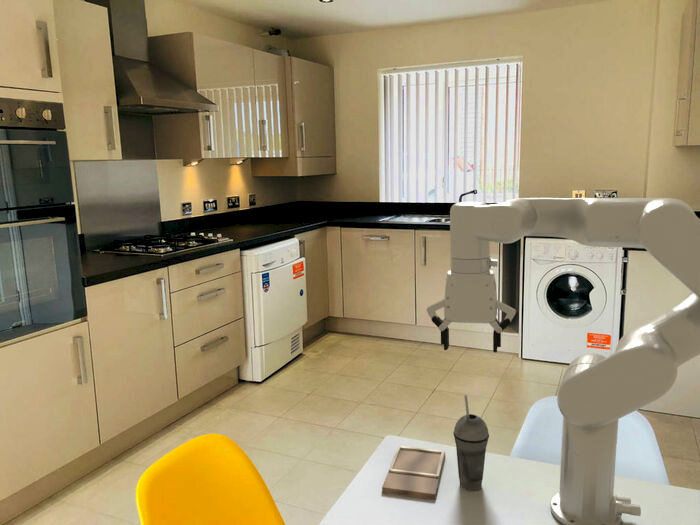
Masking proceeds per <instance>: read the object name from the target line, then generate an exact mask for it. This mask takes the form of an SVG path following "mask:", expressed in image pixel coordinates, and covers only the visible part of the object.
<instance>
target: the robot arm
mask: <svg viewBox="0 0 700 525" xmlns="http://www.w3.org/2000/svg"><path fill="white" fill-rule="evenodd" d="M449 219H450V220H449V222H450V223H449V231H450V232H449V233H450V234H449V235H450V236H449V237H450V238H449V239H450V242H449V243H450V270H448V271H447V273H446V279H445V287H444V298H443V299H442V300H439V301H437V302H435V303H432V304H431V305H428V306H427V308H426V312H427V314H428V316H429V317H430V319H431V322H432V323H433V324H434V325H435V326H436V327H437V328H438V329H439V331H440V345H442V346H443V350H444V351H448V350H449V346H450V328H449V326H450V324H451V323H457V324H458V323H460V324H489V325H490V326H491V327H492V329H493V332H492V334H493V335H492V339H493V340H492V342H493V343H492V351H493V353H496V354H497V353H498V348H501V347H502V346H501V345H502V332H503V331H504V330H505V329H506V328H507V327H508V326H510V324H511V322H512V320H513V319H514V317H515V315H516V314H517V312H516V308H513V307H511V306H510V305H508V304H506V303H503V302H502V301H499V300H498V296H497V282H496V277H495V272H494V271H493V270H492V268H495V267H498V259H493V258H492V257H491V242H493V243H499V244H513V243H515V242H517V241H519V240H520V239H522V238H524V237H550V238H551V237H553V238H563V239H567V240H571V241H573V242H576V243H578V244H580V245H583V246H586V247H594V248H595V247H597V248H599V247H600V248H635V249H645V250H646V251H647V253H649V254H650V255H651V256H652V257H653V258H654V259H655V260H656V261H657V262H658V263H659V264H660V265H661V266H662V267H664V268H665V270H667V271H668V272H669V273H670V274H672V276H674V277H675V278H676V279H678V281H680V282H681V284H683V285H684V286H685V287H686V288H688V289H689V291H691V292H690V294H689V295H688V296H686V298H684V299H683V300H682V301H681V302H679V303H678V304H676V305H675V306H673V307H672V308H670V309H668V310H667V311H665V312H664V313H662V314H660V315H658V316H656V317H654V318H653V319H651V320H649V321H647V322H646V323H643V324H641V325H640V326H638V327H636V328H634V329H632V330H630V331H628V332H626V333H625V334H623V335H622V337H621V338H620V339H619V340H618V341H617V345H616V347H615V351H614V353H612V354H610V355H609V356H607V357H606V356H604V355H601V354H598V353H592V352H591V353H584V354H581V355H579V356H576V357H575V358H574V359H573V360H572V361H571V363H569V365H568V366H567V368H566V370H565V371H564V372H565V373H564V374H563V377H562V379H561V382H560V384H559V386H558V391H557V393H556V394H557V395H556V402H557V407H558V410H559V412H560V414H561V415H562V428H561V429H562V430H561V431H562V432H561V434H562V435H561V449H560V450H561V452H560V469H559V470H560V473H559V474H560V476H559V492H557V493H556V494H555V495H553V496H552V498H551V500H550V511H551V513H552V514H553V517H555V519H556V520H557V521H559V522H560V523H561V524H563V525H621V522H622V515H623V514H626V515H629V516H635V517H637V516H638V517H641V515H642V514H641V513H642V512H641V506H640V504H634V503H633V504H632V500H631V497H620V496H617V495H616V494H615V491H614V490H615V489H614V488H615V475H616V474H615V472H616V462H617V460H616V459H617V444H618V431H619V420H620V419H622V418H623V417H627V415H630V414H632V413H634V412H635V411H637V410H640V409H641V408H644V407H646V406H648V405H649V404H652V403H654V402H656V401H657V400H659V399H660V398H662V397H663V396H664V395H665V394H666V393H668V392H669V391H670V390H671V389H672V388H673V386H674V384H675V382H676V379H677V377H678V368H679V367H681V366H682V365H684V364H685V363H687V362H688V361H690V360H693V358H696V357H698V356H700V217H698V216H697V215H696V213H695V211H694V209H693V208H692V207H691V206H690V205H689V204H688V203H686V202H685V201H684V200H681V199H679V198H672V197H577V198H569V197H566V198H564V197H563V198H559V197H555V198H554V197H539V198H538V197H529V198H527V197H520V198H513V199H508V200H505V201H502V202H500V203H495V204H487V203H485V202H482V201H462V202H455V203H454V204H453V205H452V206H451V207H450V210H449ZM442 308H443V311H444V312H443V315H444V318H443V319H442V318H441V317H440V316H438V314H437V312H436V311H438V310H441V309H442ZM498 310H499V311H502V312H504V313H505V314H506V315H505V317H504V318H503V319H502V320H501V321H499V319H498V318H497V315H498V314H497V313H498Z"/></svg>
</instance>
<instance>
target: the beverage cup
mask: <svg viewBox="0 0 700 525" xmlns="http://www.w3.org/2000/svg"><path fill="white" fill-rule="evenodd" d="M463 397H464V402H465V405H464V406H465V411H466V414H465V415H463V416H461V417H460V418H459V419H458V420H457V421H456V423H455V426H454V428H453V429H454V430H453V436H454V442H455V446H456V447H455V450H456V459H457V472H458V479H459V486H460V487H461V488H462V489H463V490H466V491H471V492H476V491H479V490H480V489H481V488H482V486H483V485H482V483H483V479H484V470H485V461H486V460H485V459H486V453H487V452H486V451H487V445H488V442H489V438H490V434H489V428H488V426H487V424H486V421H484V420H483V418H482V417H481V416H478V415H476V414H470V410H469V403H468V395H464V396H463Z"/></svg>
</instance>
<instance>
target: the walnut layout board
mask: <svg viewBox="0 0 700 525" xmlns="http://www.w3.org/2000/svg"><path fill="white" fill-rule="evenodd" d="M445 460H446V451H445V450H440V449H430V448H421V447H413V446H412V447H411V446H405V445H404V446H403V445H398V446H397V448H396V451H395V453H394V456H393V458H392V461H391V463H390V466H389V468H388V472H387V474H386V477H385V479H384V482H383V484H382V487H381V491H382V492H381V493H384V494H391V495H396V496H397V495H399V496H405V497H414V498H421V499H427V500H436V498H437V495H438V494H437V493H438V489H439V485H440V483H441V482H440V480H441V477H442V473H443V467H444V464H445Z"/></svg>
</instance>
